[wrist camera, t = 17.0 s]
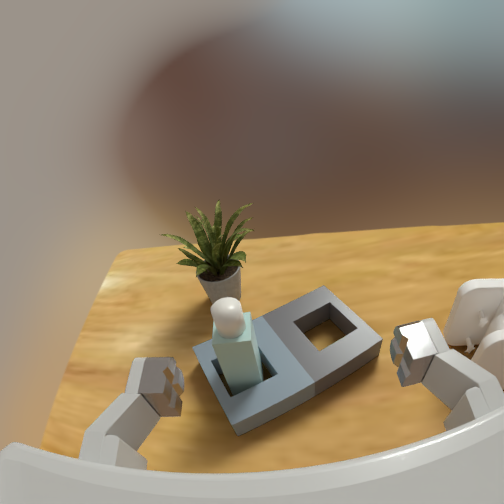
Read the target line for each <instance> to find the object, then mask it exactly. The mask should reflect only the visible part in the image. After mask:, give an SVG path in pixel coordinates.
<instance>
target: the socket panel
mask: <svg viewBox="0 0 504 504" xmlns="http://www.w3.org/2000/svg"><path fill="white" fill-rule="evenodd" d="M328 319H330V320H331V321H332V322H333V323H334V324H335V325H336V326H337V327H338V328H339V329H340V330H341V331H342V332H343V333H344V334H345V335H346V336H345V337H343V338H341V339H340V340H338V341H336V342H335V343H333V344H331V345H330V346H328V347H326V348H324V349H323V350H321V351H318V350H317V348H316V347H315V346H314V345H313V344H312V343H311V342H310V341H309V339H308V338H307V337H306V336H305V335H304V334H303V333H304V332H306V331H308V330H310V329H312V328H314V327H315V326H317V325H319V324H321V323H323V322H325V321H326V320H328ZM252 322H253V326H254V331H255V335H256V340H257V344H258V348H259V353H260V357H261V361H262V363H263V364H264V366H265V367H266V368H267V370H268V371H269V373H270V374H271V376H272V377H271V378H269V379H267V380H265V381H263V382H261V383H259V384H257V385H255V386H253V387H251V388H249V389H247V390H245V391H243V392H241V393H239V394H237V395H234V396H232V397H230V396H229V394H228V392H227V390H226V388H225V387H224V385H223V383H222V381H221V379H220V377H219V374H222V373H223V371H222V369H221V366H220V364H219V361H218V359H217V356H216V354H215V351H214V349H213V346H212V339H210V340H208V341H206V342H203V343H201V344H199V345H196V346H194V347H192V348H193V350H194V352H195V354H196V356H197V358H198V361H199V363H200V365H201V367H202V369H203V371H204V373H205V375H206V377H207V379H208V381H209V383H210V385H211V387H212V389H213V391H214V393H215V395H216V397H217V399H218V401H219V403H220V404H221V406H222V408H223V410H224V412H225V414H226V416H227V418H228V419H229V421H230V423H231V425H232V427H233V429H234V430H235V432H236V434H237V436H240V435H242V434H244V433H246V432H248V431H250V430H252V429H254V428H256V427H258V426H260V425H262V424H264V423H266V422H268V421H270V420H272V419H274V418H276V417H278V416H280V415H282V414H284V413H286V412H287V411H289V410H291V409H293V408H295V407H296V406H298V405H300V404H302V403H304V402H305V401H307V400H309V399H311V398H312V397H314V396H316V395H317V394H319V393H321V392H322V391H324V390H326V389H327V388H329V387H331V386H332V385H334V384H336V383H337V382H339V381H340V380H342V379H343V378H345V377H347V376H348V375H350V374H351V373H353V372H354V371H356V370H357V369H359V368H360V367H362V366H363V365H365V364H366V363H368V362H369V361H371V360H372V359H374V358H375V357H376V356H378V355H379V352H380V348H381V344H382V340H383V339H382V338H381V337H380V336H379V335H378V334H377V333H376V332H375V331H374V330H373V329H372V328H370V327H369V326H368V325H367V324H366V323H365V322H364V321H363V320H362V319H361V318H359V317H358V316H357V315H356V314H355V313H354V312H353V311H352V310H351V309H350V308H348V307H347V306H346V305H345V304H344V303H343V302H342V301H341V300H340V299H338V298H337V297H336V296H335V295H334V294H333V293H332V292H331V291H329V290H328V289H327V288H326V287H325V286H324V285H323V286H321V287H319V288H317V289H316V290H314V291H312V292H310V293H308V294H306V295H304V296H302V297H300V298H298V299H296V300H294V301H292V302H289V303H287V304H285V305H283V306H281V307H279V308H277V309H275V310H273V311H271V312H269V313H267V314H265V315H263V316H260V317H258V318H256V319H254V320H252Z"/></svg>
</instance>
